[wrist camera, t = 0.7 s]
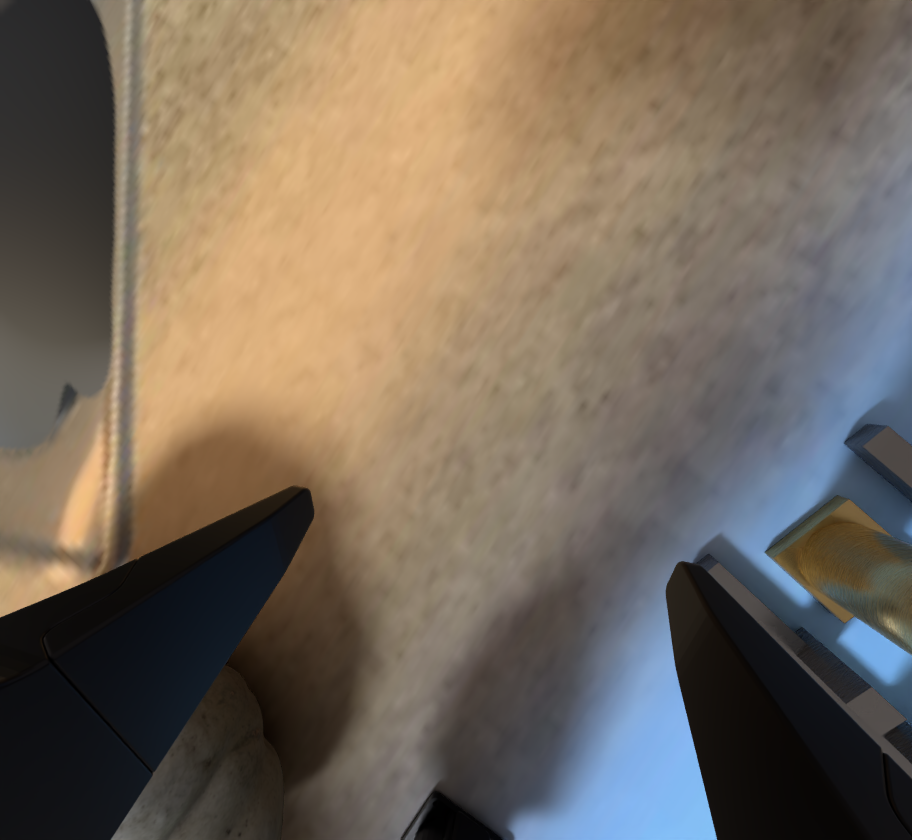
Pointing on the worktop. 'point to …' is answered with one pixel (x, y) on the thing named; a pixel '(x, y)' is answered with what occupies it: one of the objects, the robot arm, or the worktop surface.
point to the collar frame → (865, 705)
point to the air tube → (852, 568)
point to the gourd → (214, 775)
